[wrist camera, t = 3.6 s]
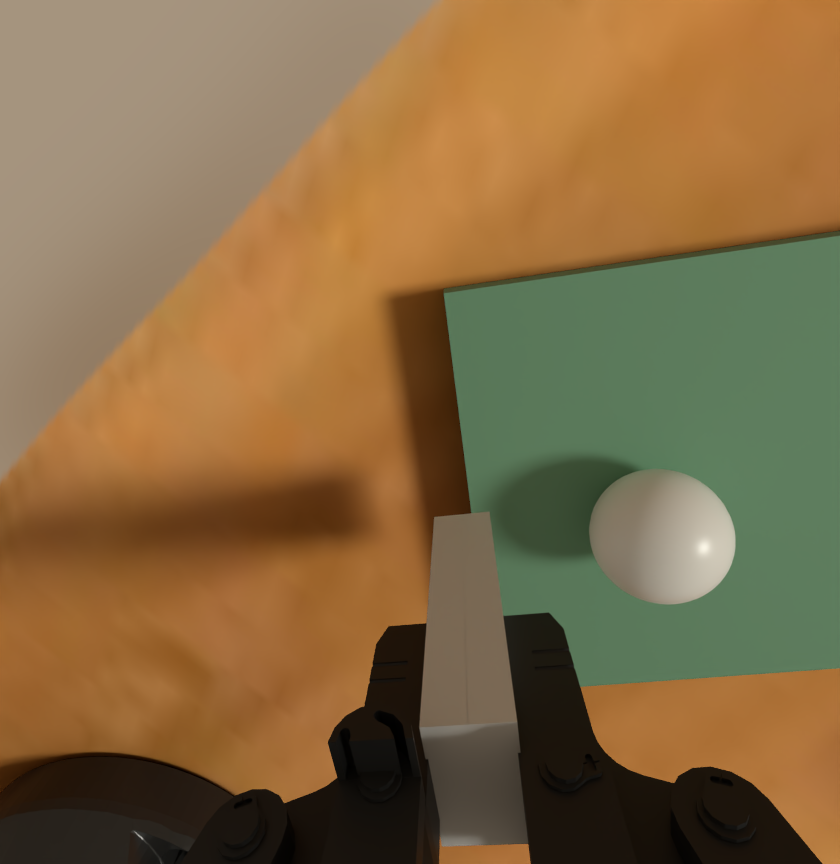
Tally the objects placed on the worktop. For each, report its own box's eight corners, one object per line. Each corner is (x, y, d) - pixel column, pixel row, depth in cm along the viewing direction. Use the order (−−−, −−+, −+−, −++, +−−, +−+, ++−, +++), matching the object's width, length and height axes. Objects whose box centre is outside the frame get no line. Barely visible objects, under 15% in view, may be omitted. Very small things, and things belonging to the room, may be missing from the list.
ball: (578, 560, 17) (612, 640, 13) (573, 456, 16) (608, 516, 12) (695, 549, 16) (760, 628, 13) (699, 442, 15) (771, 498, 12)
